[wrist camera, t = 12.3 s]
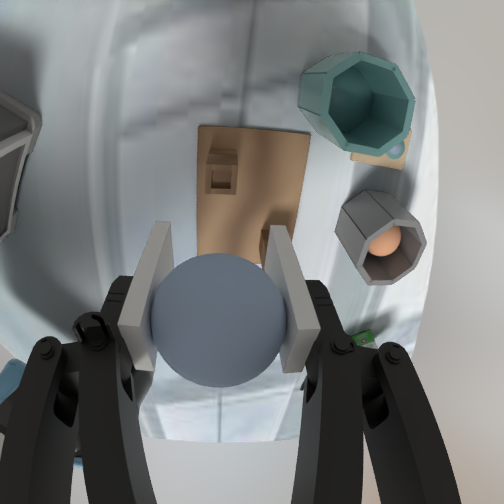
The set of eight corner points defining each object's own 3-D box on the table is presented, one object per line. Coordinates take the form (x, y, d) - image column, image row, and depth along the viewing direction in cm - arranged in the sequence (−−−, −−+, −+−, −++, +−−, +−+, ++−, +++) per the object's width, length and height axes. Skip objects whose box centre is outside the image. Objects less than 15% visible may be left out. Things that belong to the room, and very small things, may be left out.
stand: (197, 259, 34) (193, 292, 29) (198, 125, 25) (191, 137, 20) (286, 262, 35) (295, 294, 30) (309, 134, 26) (328, 148, 21)
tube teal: (293, 129, 25) (313, 145, 20) (304, 50, 21) (328, 43, 15) (367, 142, 26) (401, 162, 21) (380, 70, 22) (419, 74, 16)
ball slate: (168, 313, 13) (155, 404, 9) (156, 225, 10) (121, 325, 6) (268, 316, 14) (282, 406, 10) (283, 229, 11) (316, 328, 7)
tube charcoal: (330, 248, 34) (348, 285, 28) (346, 187, 29) (373, 216, 24) (384, 250, 35) (407, 284, 30) (403, 195, 30) (434, 223, 25)
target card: (350, 159, 28) (352, 160, 27) (358, 115, 25) (361, 116, 24) (400, 169, 28) (403, 170, 28) (410, 130, 26) (412, 131, 25)
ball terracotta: (347, 242, 33) (370, 267, 29) (358, 205, 30) (384, 227, 26) (377, 240, 34) (400, 262, 30) (388, 206, 31) (414, 226, 27)
